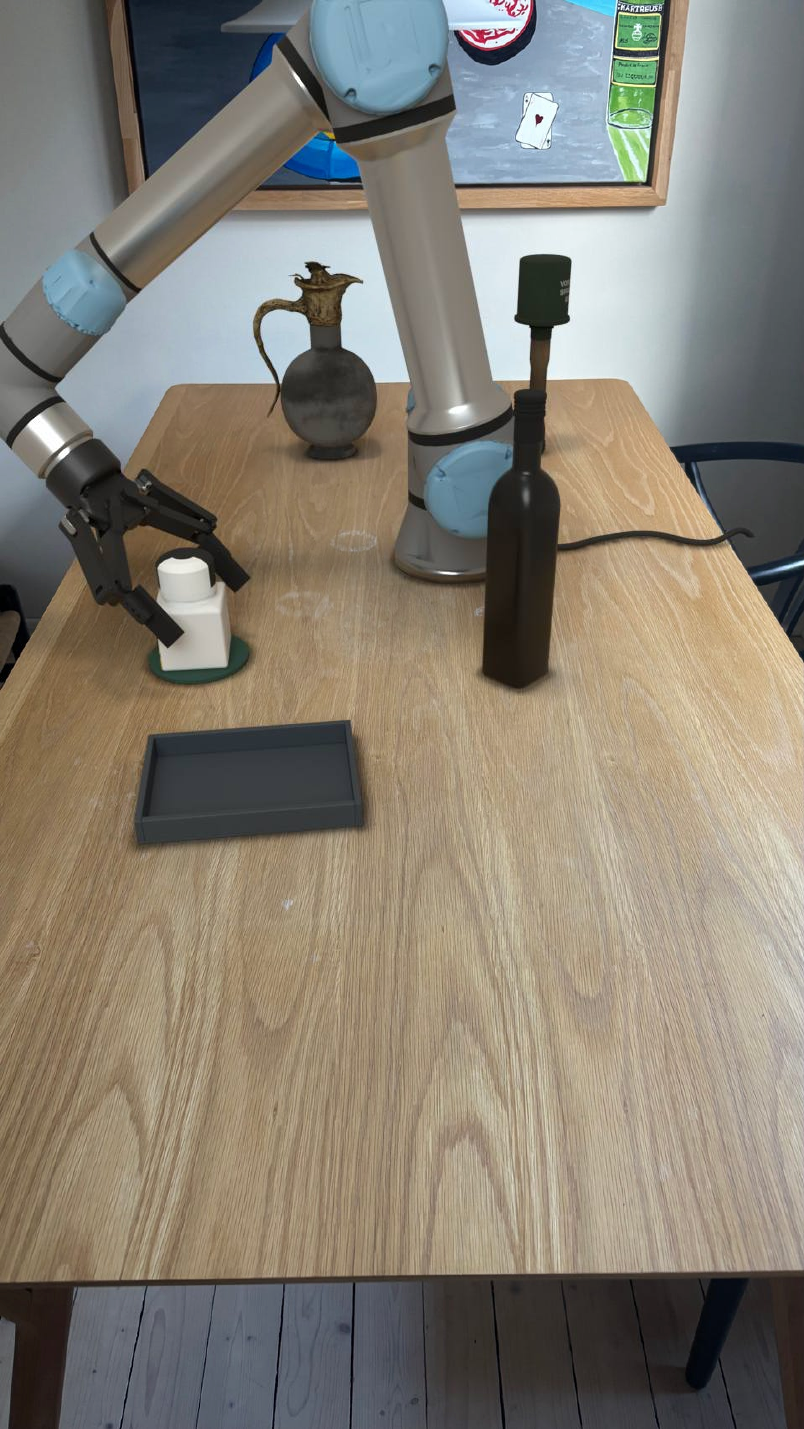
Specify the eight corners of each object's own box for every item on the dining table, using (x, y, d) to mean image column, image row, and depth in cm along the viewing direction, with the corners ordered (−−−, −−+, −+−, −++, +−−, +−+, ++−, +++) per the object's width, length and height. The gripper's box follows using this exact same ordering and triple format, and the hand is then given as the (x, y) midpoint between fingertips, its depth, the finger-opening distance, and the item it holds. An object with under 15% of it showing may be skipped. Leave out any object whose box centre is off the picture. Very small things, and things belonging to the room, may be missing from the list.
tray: (351, 740, 100) (350, 719, 99) (362, 825, 89) (361, 803, 88) (151, 755, 98) (148, 734, 97) (138, 844, 87) (133, 821, 86)
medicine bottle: (168, 640, 116) (153, 542, 110) (231, 637, 117) (220, 539, 110) (161, 672, 110) (144, 570, 104) (228, 669, 111) (215, 567, 104)
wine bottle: (511, 655, 114) (526, 380, 97) (552, 673, 110) (574, 392, 94) (477, 673, 110) (486, 392, 94) (517, 693, 107) (534, 405, 91)
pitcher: (381, 461, 168) (376, 264, 151) (264, 467, 166) (246, 268, 150) (375, 440, 177) (370, 252, 160) (264, 446, 175) (247, 256, 159)
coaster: (249, 632, 119) (249, 628, 119) (248, 680, 110) (248, 676, 110) (153, 638, 118) (152, 634, 118) (144, 687, 109) (143, 683, 109)
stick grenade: (558, 463, 166) (572, 263, 150) (504, 460, 168) (513, 262, 151) (561, 446, 173) (576, 253, 157) (510, 443, 175) (520, 252, 158)
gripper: (123, 445, 118) (249, 582, 122) (-29, 523, 99) (125, 684, 102) (155, 403, 114) (285, 548, 117) (2, 477, 95) (163, 647, 98)
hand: (211, 612), depth 110 cm, fingers open, 13 cm apart
